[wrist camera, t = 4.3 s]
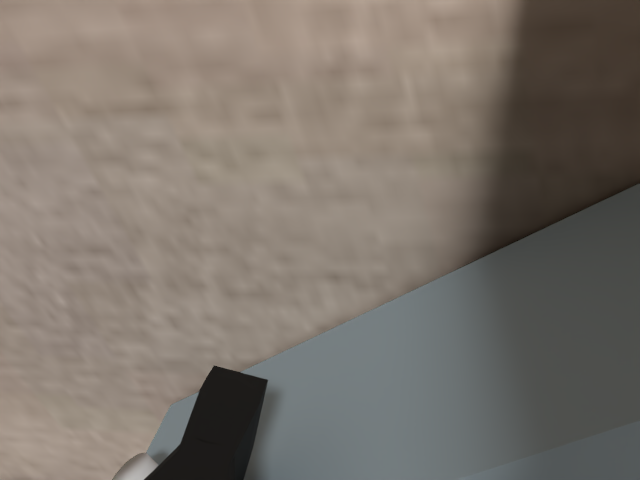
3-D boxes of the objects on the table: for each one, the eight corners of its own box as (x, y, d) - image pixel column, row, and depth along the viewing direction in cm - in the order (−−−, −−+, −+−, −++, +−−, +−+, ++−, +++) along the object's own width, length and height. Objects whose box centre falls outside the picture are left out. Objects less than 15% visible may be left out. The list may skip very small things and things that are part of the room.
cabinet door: (194, 430, 19) (103, 636, 13) (150, 383, 18) (35, 580, 13) (698, 207, 13) (906, 406, 8) (662, 126, 12) (861, 281, 7)
